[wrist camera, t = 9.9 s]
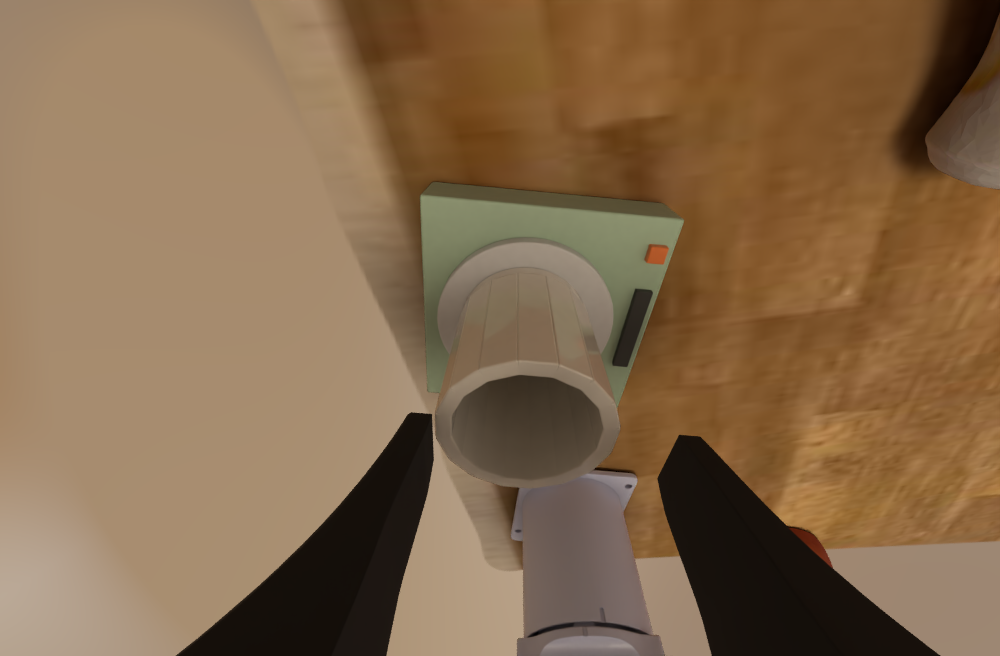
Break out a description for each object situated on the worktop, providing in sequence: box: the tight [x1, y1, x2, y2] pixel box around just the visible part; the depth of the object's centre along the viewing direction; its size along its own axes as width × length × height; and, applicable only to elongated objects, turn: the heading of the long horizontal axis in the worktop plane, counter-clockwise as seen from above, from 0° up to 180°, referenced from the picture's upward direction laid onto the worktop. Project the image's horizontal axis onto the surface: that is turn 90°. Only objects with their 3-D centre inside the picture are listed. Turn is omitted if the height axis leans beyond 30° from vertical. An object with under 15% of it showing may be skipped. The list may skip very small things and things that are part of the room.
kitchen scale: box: [420, 182, 684, 407], centre depth 17 cm, size 10×10×3 cm
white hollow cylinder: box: [435, 268, 621, 489], centre depth 13 cm, size 5×5×6 cm
